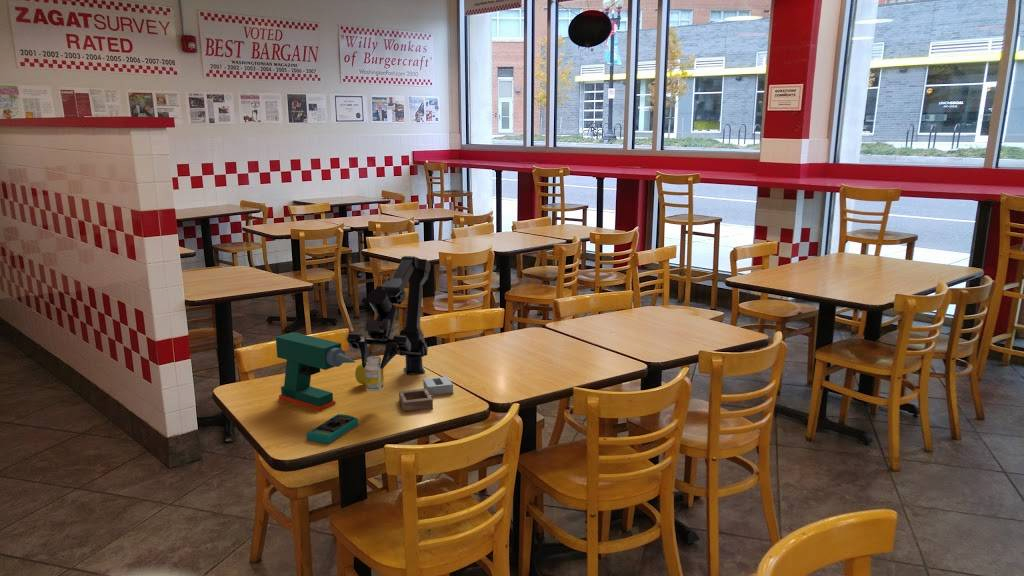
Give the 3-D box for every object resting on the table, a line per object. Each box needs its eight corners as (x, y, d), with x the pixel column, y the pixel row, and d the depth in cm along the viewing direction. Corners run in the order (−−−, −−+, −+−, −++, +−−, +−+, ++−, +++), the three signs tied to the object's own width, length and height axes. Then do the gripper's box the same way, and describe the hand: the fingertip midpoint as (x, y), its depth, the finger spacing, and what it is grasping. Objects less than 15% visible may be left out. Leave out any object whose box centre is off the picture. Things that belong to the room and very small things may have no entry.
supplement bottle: (372, 393, 211) (370, 362, 209) (362, 388, 214) (360, 357, 212) (387, 388, 214) (386, 358, 212) (377, 384, 218) (376, 353, 216)
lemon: (365, 389, 231) (364, 365, 230) (352, 386, 234) (351, 363, 232) (376, 384, 236) (375, 361, 234) (363, 381, 239) (362, 358, 237)
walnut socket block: (399, 400, 222) (398, 391, 221) (426, 397, 224) (426, 388, 224) (404, 412, 212) (404, 402, 212) (432, 409, 215) (432, 399, 214)
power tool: (368, 413, 212) (365, 348, 208) (351, 421, 206) (347, 354, 202) (297, 391, 229) (293, 331, 225) (279, 398, 224) (274, 336, 220)
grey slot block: (423, 387, 233) (423, 378, 232) (447, 385, 235) (447, 376, 235) (428, 396, 225) (428, 387, 225) (453, 393, 228) (453, 384, 227)
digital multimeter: (360, 425, 204) (359, 415, 204) (328, 446, 191) (327, 435, 190) (338, 421, 207) (338, 412, 206) (305, 441, 193) (305, 431, 193)
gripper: (347, 306, 215) (333, 353, 207) (406, 309, 211) (394, 357, 203) (359, 325, 224) (346, 370, 216) (416, 328, 220) (405, 374, 212)
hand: (372, 367), depth 212 cm, fingers closed on supplement bottle, 5 cm apart
